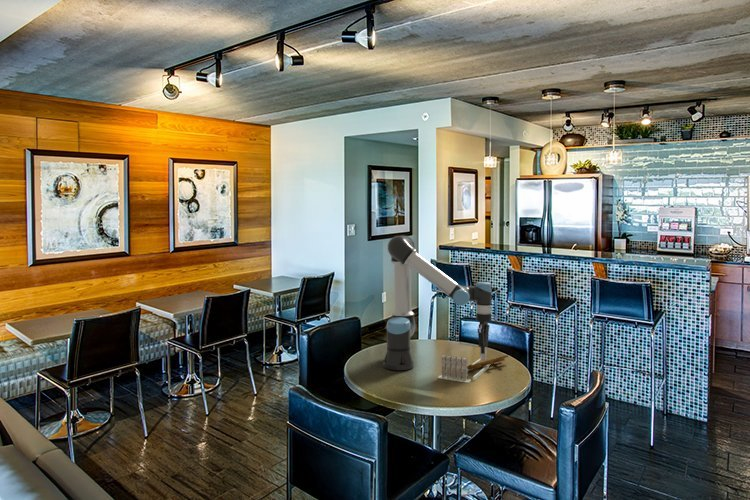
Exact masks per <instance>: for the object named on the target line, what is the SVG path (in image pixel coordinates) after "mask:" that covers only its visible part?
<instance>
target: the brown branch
mask: <svg viewBox="0 0 750 500" xmlns="http://www.w3.org/2000/svg"><path fill="white" fill-rule="evenodd" d="M507 358H509V355H508V354H507V355H504V356H499V357H496V358H492V359H489V360H483V361H479V362H478V363H477V364H473V363H472V364H473V365H472V364H470V365H467V368H469V370H470V371H471V370H475V369H478V368H481V367H485V366H486V365H489V364H492V365H493V364H495V363H498V362H499V363H500V362H504V361H505V360H506V359H507Z"/></svg>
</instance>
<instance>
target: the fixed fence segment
mask: <svg viewBox="0 0 750 500" xmlns="http://www.w3.org/2000/svg"><path fill="white" fill-rule="evenodd" d="M467 366H468V357H461V356H455V355H453V356H452V355H447V354H442V355H441V375H442V377H444V378H445V377H446V376H447V378H451V377H452V379H456V378H457V379H458V380H461V379H462V378H463V380H464V381H466V380H467V379H468V372H467Z"/></svg>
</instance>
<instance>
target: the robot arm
mask: <svg viewBox="0 0 750 500" xmlns="http://www.w3.org/2000/svg"><path fill="white" fill-rule="evenodd" d="M387 252H388V253H389V255H390V257H391V260H390V261H391V263H392V264H393V266H394V267H393V268H394V270H393V272H394V311H393V312H392V313H391V318H389V319H388V320H387V322H386V351H385V355H384V358H383V362H382V364H383V366H382V367H383V368H385V369H387V370H391V371H392V370H393V371H406V370H411V369H413V368H414V365H415V363H414V361H415V360H414V359H413V356H412V351H411V338H412V336H413V335H414V334H415V332H416V330H417V324H416V321H415V312H413V310H412V270H413V271H414V272H416V273H417V274H419V276H422V278H424V279H425V280H427V281H428V282H429V283H431V284H432V286H434V287H436V288H437V289H438V290H440V291H442V292H443V293H444V294H445V295H446V296H448V297H449V298H450V299H451V300H452V301H454V303H455V304H456V305H458V306H465V305H466V304H469V302H475V312H476V314H475V320H476V321H477V322H479V324H478V328H477V329H476V330H477V337H478V338H477V339H478V347H480V348H479V349H480V350H479V351H480V353H479V354H480V356H479V357H480V358H479V359H480V361H482V360H483V361H487V355H488V354H487V347H489V333H490V324H489V322H491V321H492V310H493V306H492V294H493V293H492V292H493V291H492V290H493V289H492V284H491V283H490V282H488V281H478V282H476V283H475V285H460V284H459V283H457V282H456V281H455V280H453V278H451V277H450V276H448V275H447V274H446V273H444V272H443V271H442V270H440V269H439V268H438V267H436V266H435V265H433V264H432V263H431V262H430V261H428V260H427V259H425V258H424V257H423V256H422V255H420V254H419V253H418V252H417V250H416V245H415V242H414V241H413V239H412V238H411V237H410V236H408V235H395V236H393V237H392V238H390V240H389V241H388V243H387ZM411 269H412V270H411Z"/></svg>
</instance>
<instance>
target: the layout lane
mask: <svg viewBox="0 0 750 500" xmlns="http://www.w3.org/2000/svg"><path fill="white" fill-rule="evenodd" d="M480 362H481V360H480V358H478V360H476V361H475V362H472V364H471V365H473V364H477V363H480ZM490 365H491V364H489V365H485V366H483V368H482V369H480V370H479V371H478V372H477V373H475V374H474V375H473V376H472V381H475V380H477V379H478V378H479V377H481V376H482V374H484V373H485V372H486V371H487V370H488V369H489V368H490V367H491V366H492V365H491V366H490ZM489 366H490V367H489ZM470 371H471V370H469V368H467V373H469V372H470Z"/></svg>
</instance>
